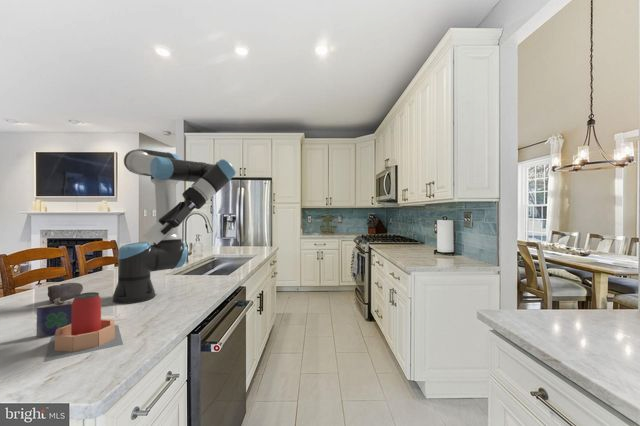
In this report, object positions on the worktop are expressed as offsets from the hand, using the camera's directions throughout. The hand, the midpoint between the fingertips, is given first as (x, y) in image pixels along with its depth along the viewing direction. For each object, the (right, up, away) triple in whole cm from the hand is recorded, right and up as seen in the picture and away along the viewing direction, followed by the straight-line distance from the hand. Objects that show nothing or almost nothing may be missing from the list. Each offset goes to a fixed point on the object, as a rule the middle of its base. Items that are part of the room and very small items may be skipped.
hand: (149, 239), depth 96 cm
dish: (-11, -27, -11) cm, 32 cm away
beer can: (-11, -27, -11) cm, 31 cm away
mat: (-11, -28, -11) cm, 32 cm away
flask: (-24, -28, -6) cm, 37 cm away
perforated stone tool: (-52, -28, +31) cm, 67 cm away
